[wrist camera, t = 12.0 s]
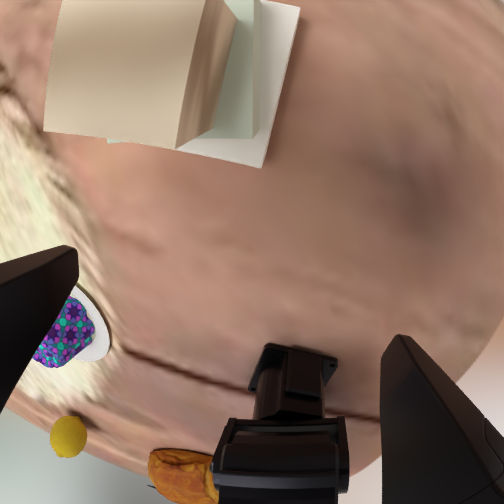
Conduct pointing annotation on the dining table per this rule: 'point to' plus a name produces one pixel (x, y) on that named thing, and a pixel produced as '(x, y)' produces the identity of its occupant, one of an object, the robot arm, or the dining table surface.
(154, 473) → the croissant
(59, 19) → the birch cube
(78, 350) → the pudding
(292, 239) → the dining table surface
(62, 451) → the lemon
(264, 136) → the base block
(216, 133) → the sage green block
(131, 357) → the dining table surface
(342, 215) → the dining table surface
